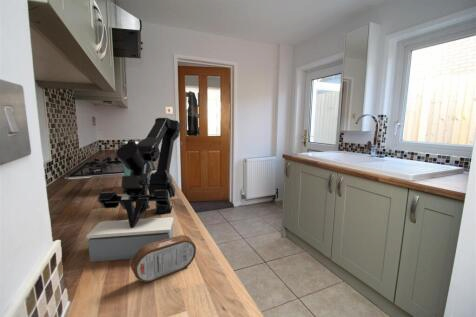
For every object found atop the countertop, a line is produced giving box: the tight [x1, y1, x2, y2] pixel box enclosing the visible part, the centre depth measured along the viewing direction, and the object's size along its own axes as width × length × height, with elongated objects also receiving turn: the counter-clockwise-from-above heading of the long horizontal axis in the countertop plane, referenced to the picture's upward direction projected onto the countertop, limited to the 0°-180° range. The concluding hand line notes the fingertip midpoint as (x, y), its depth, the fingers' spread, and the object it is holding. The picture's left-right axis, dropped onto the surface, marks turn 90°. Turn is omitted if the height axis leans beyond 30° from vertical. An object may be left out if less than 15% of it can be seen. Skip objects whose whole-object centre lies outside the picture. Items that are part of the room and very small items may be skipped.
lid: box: [86, 216, 174, 239], centre depth 65 cm, size 9×20×1 cm, turn 100°
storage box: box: [87, 221, 174, 263], centre depth 65 cm, size 9×20×6 cm, turn 100°
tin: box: [130, 234, 197, 283], centre depth 55 cm, size 15×3×8 cm, turn 126°
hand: (131, 227), depth 63 cm, fingers closed, pressing on lid
